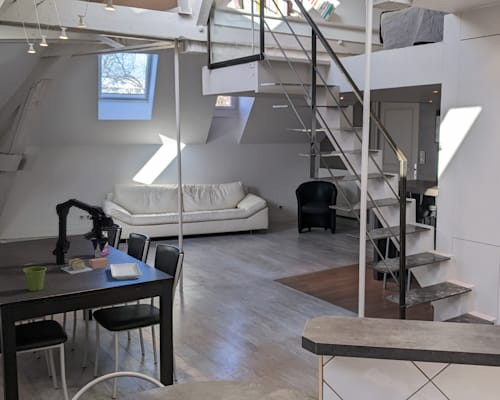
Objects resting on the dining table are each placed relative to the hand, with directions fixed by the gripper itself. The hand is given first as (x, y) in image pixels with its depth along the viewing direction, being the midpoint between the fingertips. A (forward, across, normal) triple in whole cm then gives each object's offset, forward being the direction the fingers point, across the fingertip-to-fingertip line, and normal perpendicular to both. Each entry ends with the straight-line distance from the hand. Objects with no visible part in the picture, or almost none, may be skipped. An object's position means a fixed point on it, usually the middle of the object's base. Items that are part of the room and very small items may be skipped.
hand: (98, 251), depth 349 cm
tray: (+10, +28, +5) cm, 30 cm away
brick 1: (+9, -1, -14) cm, 17 cm away
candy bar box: (+10, -28, +14) cm, 33 cm away
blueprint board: (+10, -1, -14) cm, 17 cm away
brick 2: (+10, 0, 0) cm, 10 cm away
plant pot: (+10, +28, -48) cm, 56 cm away
